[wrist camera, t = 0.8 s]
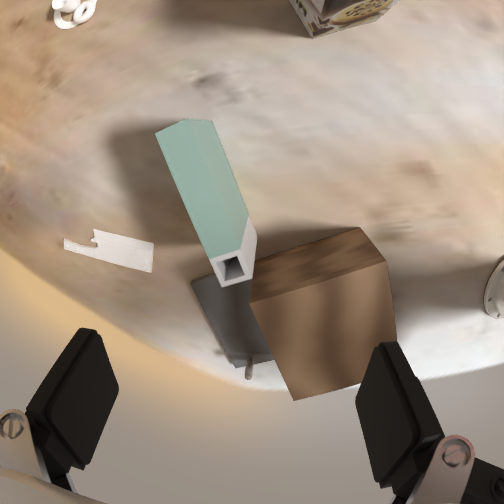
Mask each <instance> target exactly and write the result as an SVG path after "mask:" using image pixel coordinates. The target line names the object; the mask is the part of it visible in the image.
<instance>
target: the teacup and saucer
mask: <svg viewBox="0 0 504 504" xmlns="http://www.w3.org/2000/svg"><path fill="white" fill-rule="evenodd" d="M96 2H97V0H91V1H86V2H83V3H82V4H81V5H80V0H53V2H52V8H53V9H55V12H54V22H55V24H56V26H57V27H59V28H60V29H70V28H73V27H75V26H77V25H78V24H80V23H84V22H86V21H87V20H89V19H90V18H91V16H92V15H93V14H94V11H95V5H96ZM85 9H87V10H86V11H85V12H84V13H83V11H84V10H85ZM61 11H62V12H67V13H71V12H74V11H75V12H74V16H73V19H74V21H71V22H65V21H63V20H62V18H61ZM82 13H83V14H82Z"/></svg>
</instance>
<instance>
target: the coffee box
mask: <svg viewBox="0 0 504 504" xmlns="http://www.w3.org/2000/svg"><path fill="white" fill-rule="evenodd" d="M289 1H290V3H291V5H292V6H293V8H294V9H295V11H296V13H297V14H298V16H299V18H300V19H301V21H302V23H303V25H304V26H305V28H306V30H307V31H308V33H309V35H310V36H311V37H312V38H317V37H320V36H324V35H327V34H330V33H333V32H337V31H340V30H344V29H347V28H351V27H355V26H359V25H363V24H367V23H371V22H375V21H377V20H378V19H379V18H380V17H381V16H383V15H384V14H385V13H386V12H387V11H388V10H389V9H390V8H391V7H392V6H394V5H395V4H396V3H397V2H398V1H399V0H289Z"/></svg>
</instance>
